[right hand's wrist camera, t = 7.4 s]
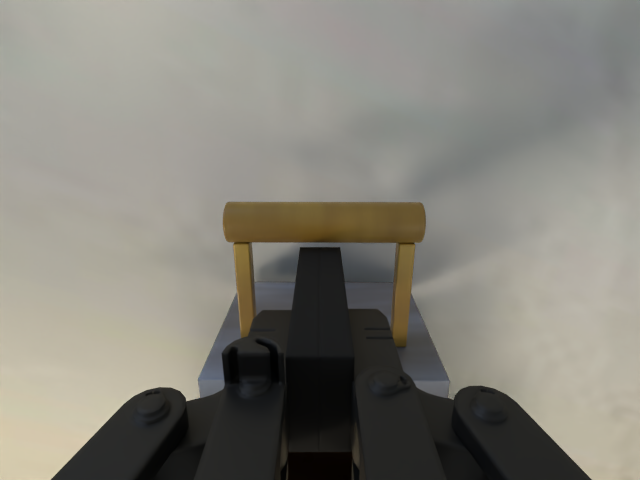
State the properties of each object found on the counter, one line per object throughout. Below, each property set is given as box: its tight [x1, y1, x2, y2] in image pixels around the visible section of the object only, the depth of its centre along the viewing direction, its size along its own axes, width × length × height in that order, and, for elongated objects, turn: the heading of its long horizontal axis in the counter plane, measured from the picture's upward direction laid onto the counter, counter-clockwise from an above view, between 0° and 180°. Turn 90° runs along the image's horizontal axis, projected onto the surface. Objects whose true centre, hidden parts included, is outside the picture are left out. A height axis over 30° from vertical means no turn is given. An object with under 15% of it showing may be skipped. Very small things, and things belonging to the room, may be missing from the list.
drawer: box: [198, 202, 450, 480], centre depth 20 cm, size 26×9×8 cm, turn 0°
